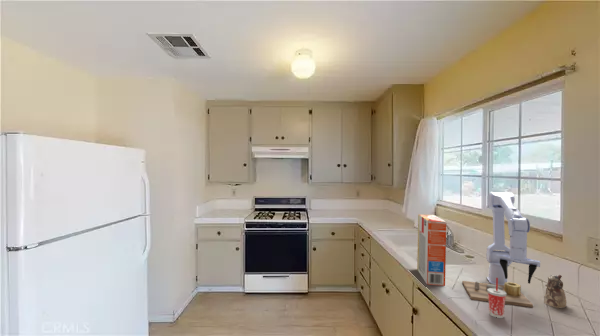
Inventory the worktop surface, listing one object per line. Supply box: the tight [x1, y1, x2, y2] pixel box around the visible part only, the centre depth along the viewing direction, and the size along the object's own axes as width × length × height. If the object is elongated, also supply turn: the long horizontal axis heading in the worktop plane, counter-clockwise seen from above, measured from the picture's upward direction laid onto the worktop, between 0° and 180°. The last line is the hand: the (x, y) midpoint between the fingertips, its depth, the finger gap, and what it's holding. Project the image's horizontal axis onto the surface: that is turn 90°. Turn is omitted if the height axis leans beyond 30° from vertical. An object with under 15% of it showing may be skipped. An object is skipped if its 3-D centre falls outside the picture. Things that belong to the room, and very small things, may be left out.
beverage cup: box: [487, 278, 506, 319], centre depth 117 cm, size 6×6×14 cm
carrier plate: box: [461, 280, 534, 308], centre depth 138 cm, size 20×22×5 cm
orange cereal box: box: [416, 213, 447, 287], centre depth 159 cm, size 23×8×30 cm, turn 170°
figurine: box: [543, 274, 567, 309], centre depth 128 cm, size 7×7×12 cm
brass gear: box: [504, 281, 522, 296], centre depth 136 cm, size 6×6×4 cm
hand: (517, 280), depth 128 cm, fingers open, 7 cm apart
